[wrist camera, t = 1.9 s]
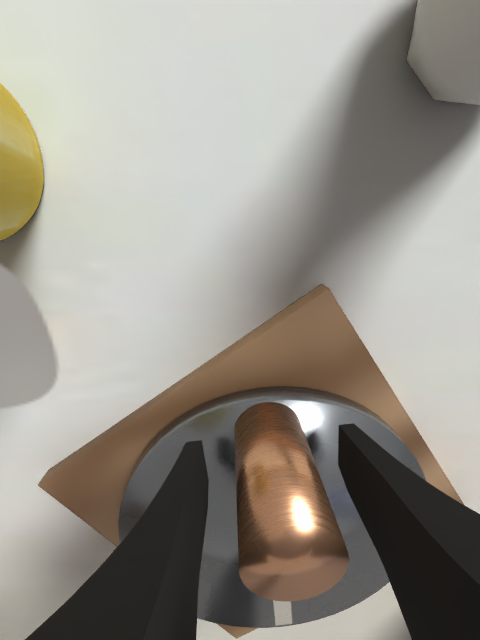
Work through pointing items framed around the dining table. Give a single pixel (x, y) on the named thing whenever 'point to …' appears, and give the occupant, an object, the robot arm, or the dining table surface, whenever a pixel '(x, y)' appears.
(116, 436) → the base
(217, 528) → the crank wheel
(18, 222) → the plant pot
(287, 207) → the dining table surface
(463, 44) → the salt shaker
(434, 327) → the dining table surface
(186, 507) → the robot arm
